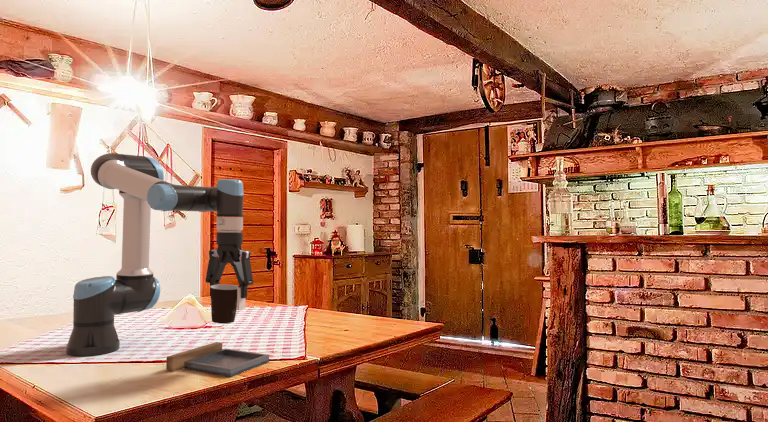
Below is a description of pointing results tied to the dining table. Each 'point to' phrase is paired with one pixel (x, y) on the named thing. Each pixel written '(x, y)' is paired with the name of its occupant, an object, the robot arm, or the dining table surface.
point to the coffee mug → (223, 303)
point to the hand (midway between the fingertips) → (228, 308)
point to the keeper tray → (226, 362)
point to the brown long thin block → (190, 356)
